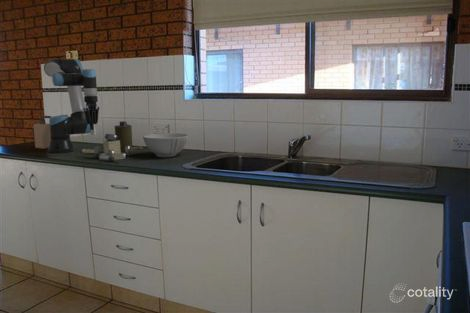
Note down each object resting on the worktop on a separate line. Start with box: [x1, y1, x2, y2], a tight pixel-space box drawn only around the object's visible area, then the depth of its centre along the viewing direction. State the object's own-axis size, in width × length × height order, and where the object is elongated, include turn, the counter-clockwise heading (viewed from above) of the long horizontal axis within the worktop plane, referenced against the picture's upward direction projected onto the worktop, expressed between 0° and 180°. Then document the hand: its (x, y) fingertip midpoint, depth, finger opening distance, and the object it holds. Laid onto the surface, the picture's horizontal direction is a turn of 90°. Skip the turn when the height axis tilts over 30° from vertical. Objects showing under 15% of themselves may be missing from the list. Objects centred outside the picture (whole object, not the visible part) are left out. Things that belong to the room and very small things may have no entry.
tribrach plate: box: [98, 133, 127, 162], centre depth 247 cm, size 15×15×14 cm
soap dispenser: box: [32, 115, 52, 149], centre depth 293 cm, size 13×9×22 cm
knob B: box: [81, 146, 101, 159], centre depth 251 cm, size 12×3×6 cm, turn 73°
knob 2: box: [125, 145, 144, 157], centre depth 257 cm, size 12×3×6 cm, turn 133°
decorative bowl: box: [142, 132, 189, 158], centre depth 255 cm, size 27×27×12 cm
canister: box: [114, 120, 134, 155], centre depth 262 cm, size 11×10×20 cm
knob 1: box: [108, 150, 127, 162], centre depth 236 cm, size 12×3×6 cm, turn 61°
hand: (93, 135), depth 257 cm, fingers closed
